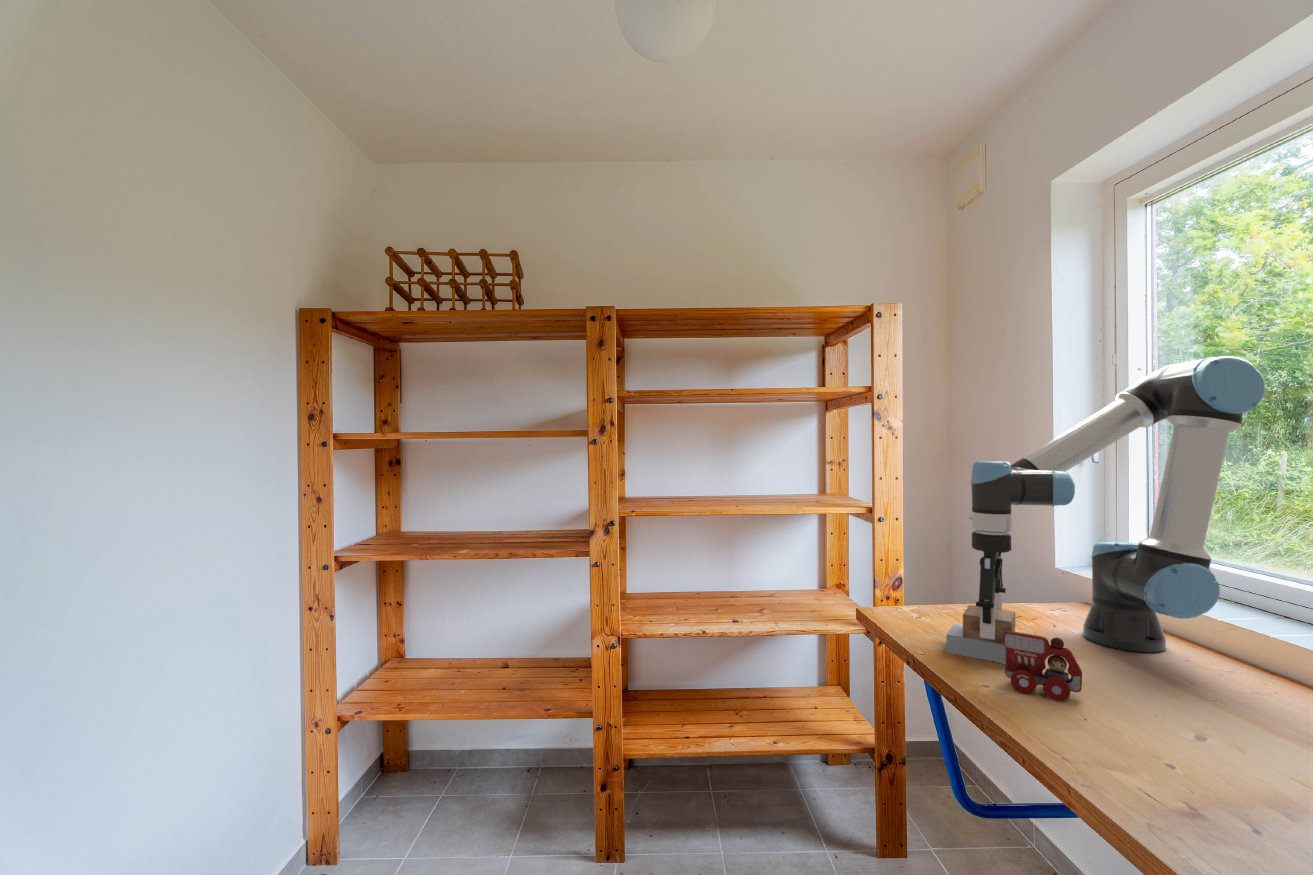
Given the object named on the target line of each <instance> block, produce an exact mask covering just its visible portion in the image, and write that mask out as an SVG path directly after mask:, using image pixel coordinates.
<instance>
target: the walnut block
mask: <svg viewBox="0 0 1313 875" xmlns="http://www.w3.org/2000/svg"><path fill="white" fill-rule="evenodd" d="M962 625H963V637H964V638H970V639H975V640H981V641H986V642H992V643H997V644H1003V633H1004V632H1005V631H1014V632H1016V611H1013V610H1006V609H1002V610H1001V609H995V640H993V639H987V638H981V637H980V607H979V606H976V605H972V604H969V605H968V606H967V608H966V609H965V611H964V612H963V613H962ZM1003 645H1004V644H1003Z"/></svg>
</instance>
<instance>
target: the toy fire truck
mask: <svg viewBox="0 0 1313 875" xmlns="http://www.w3.org/2000/svg"><path fill="white" fill-rule="evenodd" d="M1003 644H1004V646H1005V647H1006V660H1005V664H1004V671H1005V672H1004V673H1005V676H1006V677H1007V678H1008V679H1010V685H1011V687H1012V688H1013V690H1015V691H1016V692H1018V693H1019V694H1021V693H1022V694H1021V695H1030V694H1032V693H1034V692H1035V691H1036V690H1037V685H1039V686H1042V687H1043V688H1042V689H1043V692H1044V693H1045V695H1046V696H1047V698H1049V699H1050V700H1052V701H1054V700H1055V702H1060V701H1061V702H1065V701H1067V700H1068V699H1069V698H1070V695H1071V692H1073V693H1080V692H1081V691H1082V689H1083V670H1082V669H1081V667H1080V665H1079V663H1078V662H1077V660H1076V658H1075V656H1074V655H1073V652H1072V651H1071V650H1070V649H1069V648H1067V647H1065V643H1064V641H1063V639H1062V638H1060V637H1056V636H1055V637H1052V639H1050V642H1049V640H1048V638H1047V637H1046V636H1041V635H1037V634H1036V635H1035V634H1031V633H1025V632H1019V631H1018V632H1017V631H1015V632H1014V631H1005V632H1004V633H1003ZM1046 659H1047V660H1046ZM1046 661H1047V665H1048V667H1049V668H1048V667H1047V666H1046ZM1067 666H1068V667H1067ZM1046 667H1047V668H1046ZM1066 669H1067V671H1066ZM1044 670H1045V671H1044ZM1043 671H1044V672H1043ZM1069 676H1070V678H1069Z"/></svg>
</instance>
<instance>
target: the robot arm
mask: <svg viewBox="0 0 1313 875" xmlns="http://www.w3.org/2000/svg"><path fill="white" fill-rule="evenodd" d="M1265 392H1266V383H1265V380H1264V377H1263V375H1262V373H1261V371H1259V370H1258V369H1257V368H1256V366H1255V365H1254V364H1252V363H1251V362H1250V361H1249V360H1246V359H1244V358H1241V357H1238V356H1218V357H1217V356H1210V357H1209V356H1208V357H1206V358H1203V359H1198V360H1197V359H1196V360H1191V361H1186V362H1177V363H1173V364H1169V365H1168V364H1167V365H1166V366H1164V367H1161V368H1159V369H1158V370H1155V371H1153V372H1152V373H1150V374H1148V375H1146V376H1145V377H1143V378H1142V379H1140V380H1138V381H1137V382H1135V383H1133V384H1132V385H1130V386H1129V387H1127V388H1126V389H1124V390H1122V391H1121V392H1119V393H1117V394H1116V396H1115V401H1113V402H1111V403H1110V404H1108V405H1107V406H1104V407H1103V408H1102V409H1101V410H1099V411H1097V412H1095V413H1093V414H1092V415H1091V416H1089V417H1087V418H1085V419H1084V420H1083V421H1080V422H1079V423H1078V424H1076V425H1074V426H1073V427H1071V428H1069V429H1068V430H1066V431H1065V432H1063V433H1061V434H1059V435H1058V436H1056V437H1055V438H1053V439H1052V440H1050V441H1049V442H1046V443H1045V444H1043V445H1042V446H1039V447H1038V448H1037V449H1035V450H1034V451H1032V452H1030V453H1028V454H1027V455H1026V456H1024V457H1023V458H1021V459H1019V460H1017V461H1016V462H1013V463H1010V462H1009V461H1005V460H1003V461H999V460H994V461H993V460H979V461H975V462H974V463H973V464H972V467H971V480H970V485H971V514H970V515H969V516H968V519H969V520H970V521H971V529H973V530H974V531H972V532H971V547H972V549H973V550H976V551H979V552H980V551H981V552H982V553H983V556H981V557H980V560H979V565H980V569H979V570H980V571H979V574H980V575H979V590H978V591H979V593H978V601H975V606H979V607H980V637H981V638H987V639H993V640H995V609H1001V610H1003V594H1006V591H1007V590H1006V589H1007V588H1006V587H1004V584H1003V560H1004V559H1003V558H1002V553H1003V554H1006V553H1009V552H1011V551H1012V535H1011V534H1010V532H1012V528H1013V527H1012V523H1013V522H1012V518H1013V517H1012V515H1013V514H1012V506H1045V507H1047V506H1050V507H1055V506H1057V507H1058V506H1067V505H1069V504H1071V503H1072V501H1073V500H1074V497H1075V494H1076V485H1075V484H1076V483H1075V481H1074V478H1073V477H1072V474H1070V473H1068V471H1070V470H1071V469H1072V468H1074V467H1076V466H1077V465H1079V464H1081V463H1082V462H1084V461H1085V460H1088V459H1090V458H1091V457H1093V456H1094V455H1095V454H1098V453H1099V452H1101V451H1103V450H1104V449H1106V448H1107V447H1109V446H1111V445H1112V444H1114V443H1116V442H1117V441H1119V440H1121V439H1122V438H1124V437H1126V436H1128V435H1129V434H1130V433H1132V432H1134V431H1136V430H1137V429H1139V428H1149V427H1152V426H1154V425H1155V424H1156V423H1159V422H1161V421H1164V420H1167V422H1169V423H1170V424H1171V425H1172V427H1173V430H1172V435H1171V438H1170V444H1169V448H1168V451H1167V452H1168V453H1167V457H1166V461H1165V466H1164V471H1163V475H1162V479H1161V480H1162V481H1161V484H1160V487H1159V493H1158V498H1157V502H1156V506H1155V511H1154V515H1153V520H1152V525H1151V530H1150V533H1149V536H1148V537H1146V538H1145V539H1143V540H1141V541H1139V542H1119V541H1118V542H1117V541H1099V542H1096V543H1095V544H1093V547H1092V553H1091V561H1092V564H1091V566H1092V567H1091V568H1092V570H1091V572H1092V573H1091V575H1092V576H1091V578H1092V579H1091V580H1092V581H1091V582H1092V583H1091V584H1092V586H1091V587H1092V590H1091V592H1092V594H1091V595H1092V601H1091V602H1092V603H1091V606H1090V608H1089V611H1088V614H1086V615H1087V616H1086V618H1085V620H1084V623H1083V626H1082V635H1083V637H1084V638H1086V639H1087V640H1089V641H1091V642H1093V643H1096V644H1099V645H1102V646H1105V647H1109V648H1113V649H1119V650H1122V651H1130V652H1137V653H1138V652H1139V653H1160V652H1163V651H1165V650H1166V649H1167V639H1166V636H1165V632H1164V631H1163V628H1162V625H1161V623H1160V620H1159V617H1158V615H1157V614H1159V615H1163V616H1168V617H1171V618H1175V619H1178V620H1179V619H1181V620H1190V619H1195V618H1198V617H1200V616H1202V615H1203V614H1206V613H1208V612H1209V611H1210V610H1212V609H1213V608H1214V606H1215V605H1216V603H1217V602H1218V600H1219V597H1220V593H1221V587H1220V582H1219V581H1218V579H1216V576H1215V574H1214V573H1213V572H1212V571H1211V570H1210V566H1211V561H1212V557H1211V556H1210V555H1209V553H1208V552H1207V551H1206V550H1205V548H1204V547H1205V543H1206V542H1205V541H1206V539H1207V538H1206V537H1207V533H1208V528H1209V525H1210V524H1209V523H1210V519H1211V514H1212V511H1213V510H1212V509H1213V506H1214V501H1215V498H1216V493H1217V488H1218V483H1219V480H1220V475H1221V470H1222V467H1223V461H1224V456H1225V452H1226V449H1227V444H1228V438H1229V435H1230V433H1232V432H1234V431H1235V430H1237V429H1240V428H1241V427H1242V424H1243V420H1244V413H1247V412H1249V411H1251V410H1253V409H1254V408H1255V407H1258V405H1260V404H1261V402H1262V400H1264V397H1265Z"/></svg>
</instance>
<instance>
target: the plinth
mask: <svg viewBox="0 0 1313 875" xmlns="http://www.w3.org/2000/svg"><path fill="white" fill-rule="evenodd" d="M945 637H946V640H945V642H946V647H945V648H946V650H945V651H946V653H948V654H953V655H957V656H962V657H963V656H964V657H968V658H972V659H978V660H982V659H984V660H983V661H987V660H988V662H992V661H995V662H994V663H998V662H999V664H1003V663H1004V664H1003V665H1005V660H1006V647H1005V646H1004V645H1003V644H997V643H992V642H986V641H981V640H975V639H970V638H964V637H963V624H957V623H953V624H952V626H951V627H950V629H949V630H948V631H947V633H946V636H945Z"/></svg>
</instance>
